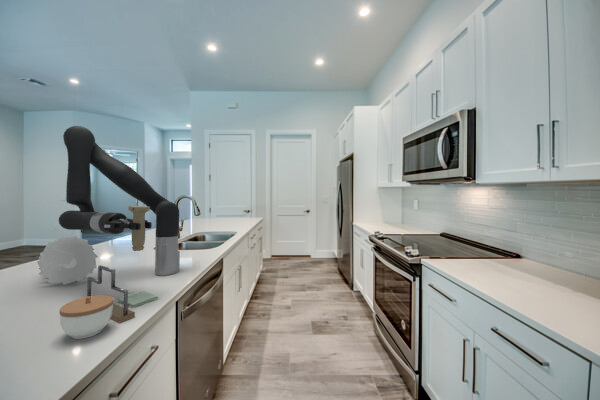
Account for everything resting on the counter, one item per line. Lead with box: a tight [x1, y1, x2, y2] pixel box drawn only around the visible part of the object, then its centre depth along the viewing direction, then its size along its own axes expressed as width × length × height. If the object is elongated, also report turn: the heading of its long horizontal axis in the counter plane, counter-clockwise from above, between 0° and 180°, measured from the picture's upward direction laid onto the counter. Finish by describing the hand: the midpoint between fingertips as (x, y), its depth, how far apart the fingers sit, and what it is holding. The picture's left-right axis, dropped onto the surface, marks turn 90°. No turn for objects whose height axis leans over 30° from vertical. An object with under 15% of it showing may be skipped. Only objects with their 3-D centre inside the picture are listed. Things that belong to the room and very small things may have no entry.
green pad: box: [117, 290, 158, 309], centre depth 84 cm, size 8×9×1 cm
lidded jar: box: [59, 294, 115, 340], centre depth 64 cm, size 11×11×9 cm
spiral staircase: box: [36, 235, 99, 286], centre depth 103 cm, size 18×18×25 cm
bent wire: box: [86, 265, 136, 324], centre depth 76 cm, size 4×24×14 cm, turn 62°
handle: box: [127, 205, 151, 252], centre depth 83 cm, size 5×6×15 cm
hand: (145, 226), depth 83 cm, fingers closed on handle, 3 cm apart
